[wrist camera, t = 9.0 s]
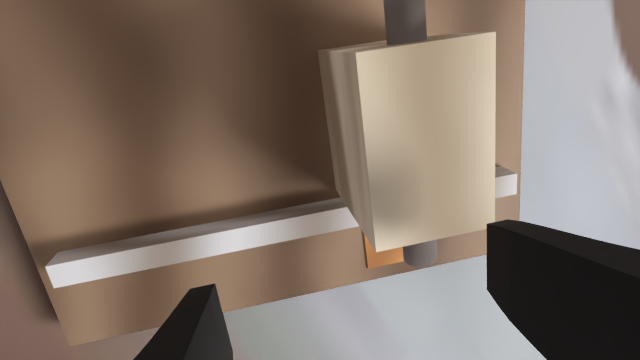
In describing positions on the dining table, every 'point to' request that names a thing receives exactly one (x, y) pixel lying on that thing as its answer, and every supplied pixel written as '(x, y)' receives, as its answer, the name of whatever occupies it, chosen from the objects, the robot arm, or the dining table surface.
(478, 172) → the block
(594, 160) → the dining table surface
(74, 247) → the walnut board
